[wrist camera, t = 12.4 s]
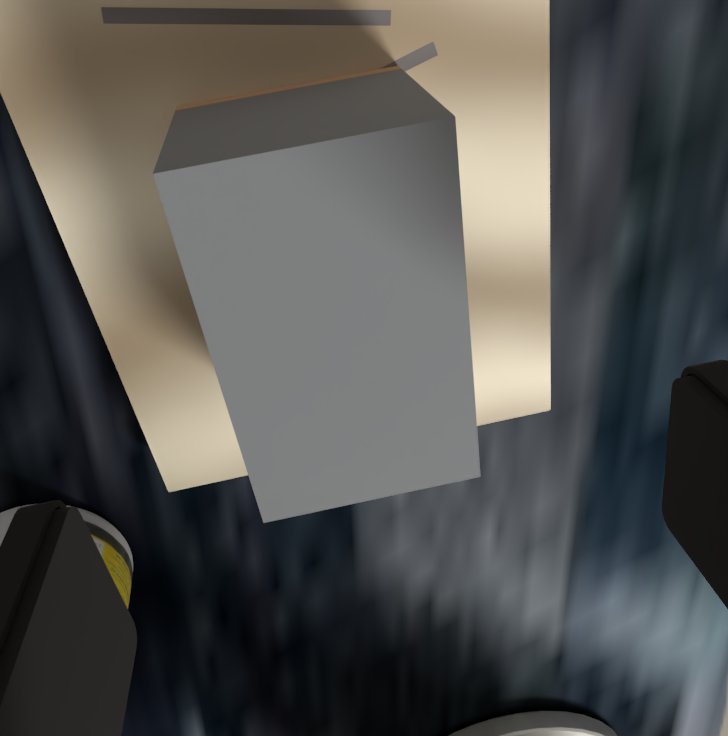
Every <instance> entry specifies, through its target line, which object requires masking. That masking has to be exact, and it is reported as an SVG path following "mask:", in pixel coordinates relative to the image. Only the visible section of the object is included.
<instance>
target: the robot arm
mask: <svg viewBox="0 0 728 736" xmlns="http://www.w3.org/2000/svg"><path fill="white" fill-rule="evenodd" d="M662 512H663V516H664V520H665V522H666V525H667V527H668V528H669V530H670V531H671V533H672V534H673V535H674V537H675V538H676V539H677V541H678V542H679V544H680V545H681V546H682V548H683V549H684V550H685V552H686V553H687V554H688V556H689V557H690V558H691V560H692V561H693V562H694V564H695V565H696V567H697V568H698V569H699V571H700V572H701V573H702V575H703V576H704V577H705V579H706V580H707V581H708V583H709V584H710V586H711V587H712V588H713V590H714V591H715V592H716V594H717V595H718V596H719V598H720V599H721V600H722V602H723V603H724V604H725V606H726V607H727V609H728V361H726V360H718V361H713V362H708V363H703V364H699V365H694V366H689V367H687V368H685V369H684V370H683V372H682V375H681V378H677V379H676V380H674V382H673V385H672V393H671V405H670V417H669V429H668V441H667V453H666V464H665V476H664V488H663V500H662ZM136 648H137V633H136V627H135V624H134V621H133V619H132V617H131V615H130V613H129V611H128V609H127V607H126V605H125V603H124V601H123V599H122V597H121V595H120V593H119V591H118V589H117V586H116V584H115V582H114V580H113V578H112V576H111V574H110V572H109V570H108V568H107V566H106V564H105V562H104V560H103V558H102V556H101V554H100V552H99V550H98V548H97V546H96V544H95V542H94V540H93V538H92V536H91V534H90V532H89V530H88V528H87V526H86V524H85V522H84V520H83V518H82V515H81V513H80V512H79V510H78V509H77V508H76V507H73V506H71V507H66V505H65V504H64V503H63V502H62V501H61V500H53V501H49V502H44V503H39V504H34V505H30V506H25V507H21V508H19V509H18V510H17V511H16V513H15V514H14V516H13V519H12V521H11V523H10V525H9V528H8V530H7V532H6V534H5V537H4V539H3V541H2V543H1V546H0V736H121V733H122V728H123V722H124V716H125V711H126V705H127V699H128V694H129V688H130V682H131V676H132V671H133V665H134V659H135V654H136ZM448 736H617V735H616V733H615V732H614V731H613V729H611V728H610V727H609V726H607V725H606V724H604V723H603V722H601V721H599V720H596V719H594V718H591V717H588V716H586V715H583V714H578V713H572V712H566V711H543V710H542V711H531V712H521V713H515V714H510V715H505V716H500V717H495V718H492V719H489V720H486V721H482V722H479V723H476V724H473V725H470V726H468V727H466V728H463V729H461V730H459V731H456V732H454V733H452V734H449V735H448Z"/></svg>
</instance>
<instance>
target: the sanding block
mask: <svg viewBox="0 0 728 736" xmlns="http://www.w3.org/2000/svg"><path fill="white" fill-rule="evenodd" d="M153 177H154V180H155V183H156V186H157V190H158V193H159V196H160V199H161V202H162V205H163V208H164V212H165V215H166V218H167V221H168V224H169V227H170V230H171V234H172V237H173V240H174V243H175V246H176V249H177V252H178V256H179V259H180V262H181V265H182V268H183V271H184V274H185V278H186V281H187V284H188V287H189V290H190V293H191V296H192V300H193V303H194V306H195V309H196V312H197V315H198V318H199V322H200V325H201V328H202V331H203V334H204V337H205V340H206V344H207V347H208V350H209V353H210V356H211V359H212V362H213V366H214V369H215V372H216V375H217V378H218V381H219V384H220V388H221V391H222V394H223V397H224V400H225V403H226V406H227V410H228V413H229V416H230V419H231V422H232V425H233V428H234V432H235V435H236V438H237V441H238V444H239V447H240V450H241V454H242V457H243V460H244V463H245V466H246V469H247V472H248V476H249V479H250V482H251V485H252V488H253V491H254V494H255V498H256V501H257V504H258V507H259V510H260V513H261V516H262V520H263V523H266V522H271V521H275V520H280V519H285V518H289V517H294V516H299V515H303V514H308V513H313V512H317V511H322V510H327V509H331V508H336V507H341V506H345V505H350V504H355V503H359V502H364V501H369V500H373V499H378V498H383V497H387V496H392V495H397V494H402V493H406V492H411V491H416V490H420V489H425V488H430V487H434V486H439V485H444V484H448V483H453V482H458V481H462V480H467V479H472V478H476V477H480V463H479V448H478V434H477V420H476V405H475V391H474V377H473V363H472V348H471V334H470V320H469V305H468V291H467V277H466V262H465V248H464V234H463V220H462V205H461V191H460V177H459V162H458V148H457V134H456V119H455V116H454V115H453V114H452V113H451V112H450V111H449V110H447V109H446V108H445V107H444V106H443V105H442V104H441V103H440V102H438V101H437V100H436V99H435V98H434V97H433V96H432V95H431V94H429V93H428V92H427V91H426V90H425V89H424V88H423V87H422V86H420V85H419V84H418V83H417V82H416V81H415V80H414V79H413V78H411V77H410V76H409V75H408V74H407V73H406V72H405V71H404V70H402V69H401V68H400V67H399V66H393V67H387V68H382V69H377V70H371V71H366V72H360V73H355V74H350V75H344V76H339V77H333V78H328V79H323V80H317V81H312V82H306V83H301V84H296V85H290V86H285V87H279V88H274V89H269V90H263V91H258V92H252V93H247V94H242V95H236V96H231V97H226V98H220V99H215V100H209V101H204V102H199V103H193V104H188V105H182V106H177V107H176V110H175V113H174V116H173V118H172V121H171V124H170V127H169V130H168V132H167V135H166V138H165V141H164V143H163V146H162V149H161V152H160V154H159V157H158V160H157V163H156V166H155V168H154V171H153Z"/></svg>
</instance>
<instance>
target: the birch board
mask: <svg viewBox="0 0 728 736" xmlns="http://www.w3.org/2000/svg"><path fill="white" fill-rule="evenodd" d="M393 66H399V67H400V68H401V69H402V70H404V71H405V72H406V73H407V74H408V75H409V76H410V77H411V78H413V79H414V80H415V81H416V82H417V83H418V84H419V85H420V86H422V87H423V88H424V89H425V90H426V91H427V92H428V93H429V94H431V95H432V96H433V97H434V98H435V99H436V100H437V101H438V102H440V103H441V104H442V105H443V106H444V107H445V108H446V109H447V110H449V111H450V112H451V113H452V114H453V115H454V116H455V119H456V134H457V148H458V162H459V177H460V191H461V205H462V220H463V234H464V248H465V262H466V277H467V291H468V305H469V320H470V334H471V348H472V363H473V377H474V391H475V405H476V420H477V426H479V425H483V424H488V423H493V422H497V421H502V420H507V419H511V418H516V417H521V416H525V415H530V414H534V413H539V412H544V411H548V410H551V386H550V70H549V0H0V93H1V95H2V97H3V100H4V102H5V105H6V107H7V109H8V112H9V114H10V117H11V119H12V121H13V124H14V126H15V128H16V131H17V133H18V136H19V138H20V140H21V143H22V145H23V147H24V150H25V152H26V155H27V157H28V159H29V162H30V164H31V166H32V169H33V171H34V174H35V176H36V178H37V181H38V183H39V186H40V188H41V190H42V193H43V195H44V197H45V200H46V202H47V205H48V207H49V209H50V212H51V214H52V216H53V219H54V221H55V224H56V226H57V228H58V231H59V233H60V235H61V238H62V240H63V243H64V245H65V247H66V250H67V252H68V255H69V257H70V259H71V262H72V264H73V266H74V269H75V271H76V274H77V276H78V278H79V281H80V283H81V285H82V288H83V290H84V293H85V295H86V297H87V300H88V302H89V304H90V307H91V309H92V312H93V314H94V316H95V319H96V321H97V324H98V326H99V328H100V331H101V333H102V335H103V338H104V340H105V343H106V345H107V347H108V350H109V352H110V354H111V357H112V359H113V362H114V364H115V366H116V369H117V371H118V374H119V376H120V378H121V381H122V383H123V385H124V388H125V390H126V393H127V395H128V397H129V400H130V402H131V404H132V407H133V409H134V412H135V414H136V416H137V419H138V421H139V423H140V426H141V428H142V431H143V433H144V435H145V438H146V440H147V443H148V445H149V447H150V450H151V452H152V454H153V457H154V459H155V462H156V464H157V466H158V469H159V471H160V473H161V476H162V478H163V481H164V483H165V485H166V488H167V490H168V492H172V491H177V490H182V489H186V488H191V487H196V486H200V485H205V484H209V483H214V482H219V481H223V480H228V479H233V478H237V477H242V476H247V475H248V472H247V469H246V466H245V463H244V460H243V457H242V454H241V450H240V447H239V444H238V441H237V438H236V435H235V432H234V428H233V425H232V422H231V419H230V416H229V413H228V410H227V406H226V403H225V400H224V397H223V394H222V391H221V388H220V384H219V381H218V378H217V375H216V372H215V369H214V366H213V362H212V359H211V356H210V353H209V350H208V347H207V344H206V340H205V337H204V334H203V331H202V328H201V325H200V322H199V318H198V315H197V312H196V309H195V306H194V303H193V300H192V296H191V293H190V290H189V287H188V284H187V281H186V278H185V274H184V271H183V268H182V265H181V262H180V259H179V256H178V252H177V249H176V246H175V243H174V240H173V237H172V234H171V230H170V227H169V224H168V221H167V218H166V215H165V212H164V208H163V205H162V202H161V199H160V196H159V193H158V190H157V186H156V183H155V180H154V177H153V171H154V168H155V166H156V163H157V160H158V157H159V154H160V152H161V149H162V146H163V143H164V141H165V138H166V135H167V132H168V130H169V127H170V124H171V121H172V118H173V116H174V113H175V110H176V107H177V106H182V105H188V104H193V103H199V102H204V101H209V100H215V99H220V98H226V97H231V96H236V95H242V94H247V93H252V92H258V91H263V90H269V89H274V88H279V87H285V86H290V85H296V84H301V83H306V82H312V81H317V80H323V79H328V78H333V77H339V76H344V75H350V74H355V73H360V72H366V71H371V70H377V69H382V68H387V67H393Z"/></svg>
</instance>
